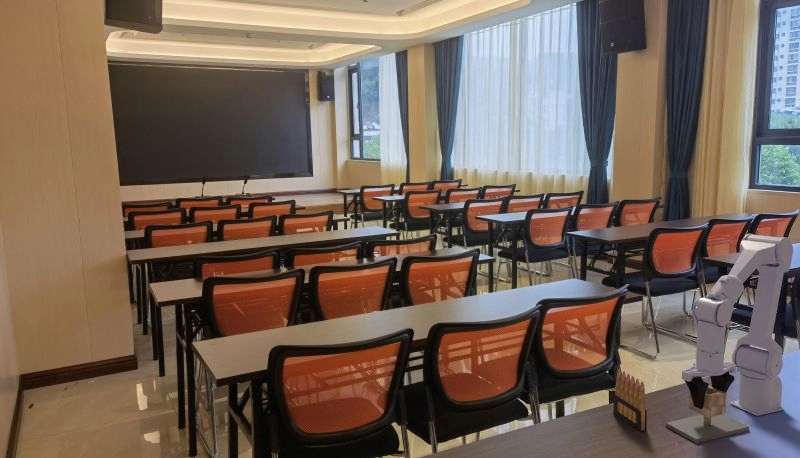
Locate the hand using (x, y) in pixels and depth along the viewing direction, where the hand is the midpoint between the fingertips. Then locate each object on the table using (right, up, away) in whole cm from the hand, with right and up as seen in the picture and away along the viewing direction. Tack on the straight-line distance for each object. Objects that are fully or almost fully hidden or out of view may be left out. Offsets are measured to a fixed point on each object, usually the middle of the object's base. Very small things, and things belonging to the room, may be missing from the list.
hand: (707, 405), depth 140 cm
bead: (0, -1, 0) cm, 1 cm away
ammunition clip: (-16, -6, +5) cm, 18 cm away
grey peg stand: (0, -6, +1) cm, 6 cm away
